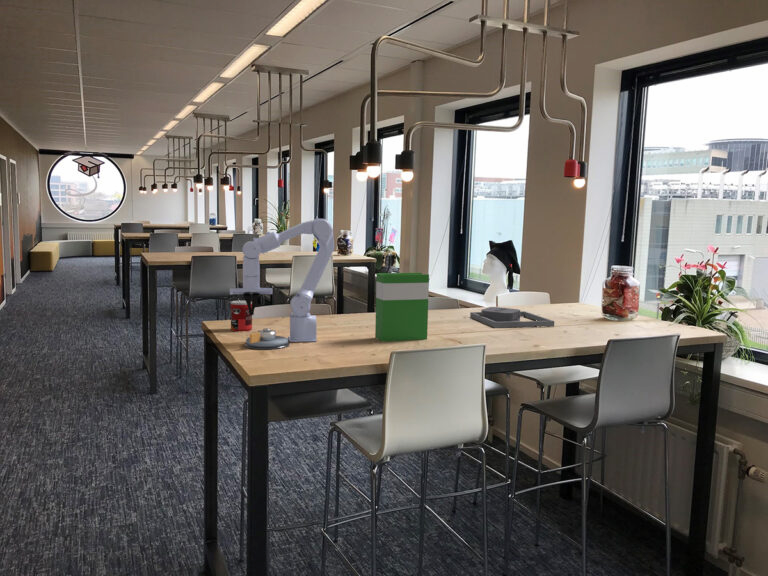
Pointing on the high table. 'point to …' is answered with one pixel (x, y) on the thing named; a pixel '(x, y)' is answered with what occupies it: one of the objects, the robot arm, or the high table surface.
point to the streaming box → (501, 314)
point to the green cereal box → (401, 306)
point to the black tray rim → (540, 321)
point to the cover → (267, 335)
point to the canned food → (240, 316)
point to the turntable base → (266, 347)
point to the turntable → (256, 342)
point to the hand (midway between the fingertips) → (251, 314)
